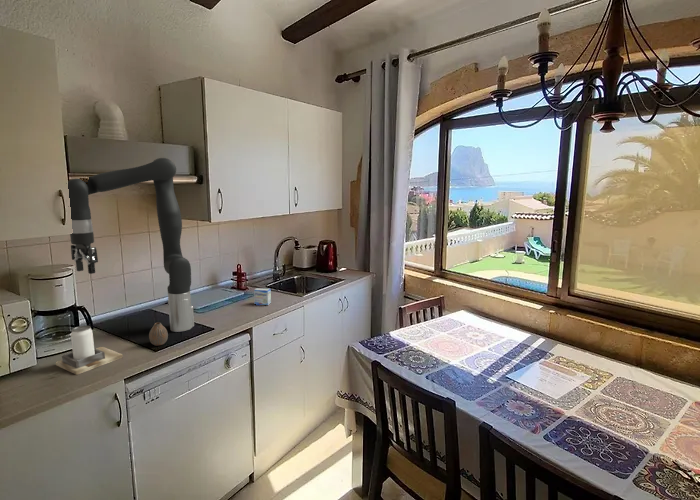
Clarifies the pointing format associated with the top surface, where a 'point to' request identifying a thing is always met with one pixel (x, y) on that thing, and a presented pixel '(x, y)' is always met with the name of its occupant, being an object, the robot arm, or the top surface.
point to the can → (82, 342)
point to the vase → (158, 334)
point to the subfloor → (88, 360)
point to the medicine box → (262, 296)
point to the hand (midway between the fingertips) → (85, 272)
